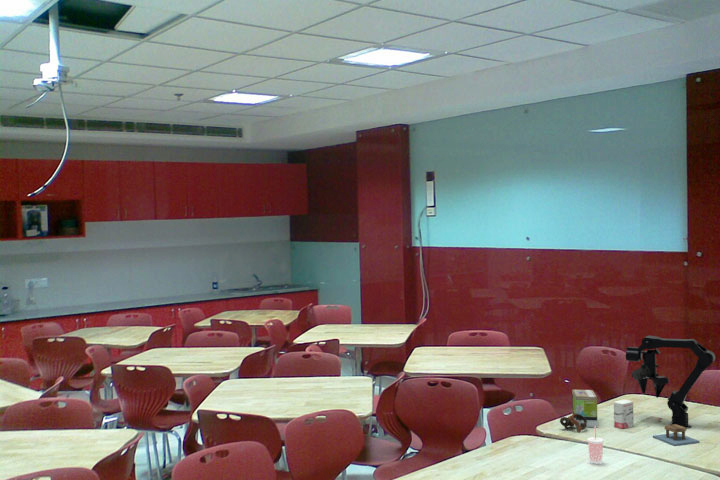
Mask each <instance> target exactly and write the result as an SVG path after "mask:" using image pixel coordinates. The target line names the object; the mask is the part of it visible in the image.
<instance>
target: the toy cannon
mask: <svg viewBox="0 0 720 480" xmlns="http://www.w3.org/2000/svg"><path fill="white" fill-rule="evenodd" d="M576 416H577V417H578V419H582V420H583V421H584V423H581V425H579V422H578V421H576V420H575V419H574V418H575V417H576ZM559 423H560V425H561V426H562V427H564V429H568V427H572V426H574V427H576V426H577V428H576V432H577V433H581V431H584V430H585V429H586V428H587V427H586V426H587V424H586V423H587V420H586V419H585V418H584V417H583V416H582V415H580V414H572V413H571V415H569V416H568V417H567V416H562V417H561V418H560V419H559Z"/></svg>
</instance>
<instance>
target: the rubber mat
mask: <svg viewBox="0 0 720 480" xmlns="http://www.w3.org/2000/svg"><path fill="white" fill-rule="evenodd" d="M652 438H653V439H655V440H658V441H661V442H663V443H666V444H668V445H670V446H674V447H677V446H684V445H685V446H686V445H693V444H700V440H698V439H695V438H693V437H691V436H687V435H685V439H682V433H680V432H677V441H675V440H674V433H673V432H672V433H670V432H669V438H667V437H666V433H665V434H663V433H662V434H657V435H656V434H655V435H652Z"/></svg>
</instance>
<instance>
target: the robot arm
mask: <svg viewBox="0 0 720 480" xmlns="http://www.w3.org/2000/svg"><path fill="white" fill-rule="evenodd" d="M660 348H676V349H677V348H678V349H679V348H680V349H690V350H691V352H693V354H694V355H695V356H696V357H697V358H698V359H697V362H696V364H695V367H693V369H692V371H691V372H690V374H689V375H688V377H687V378H686V379H685V381H684V382H683V384H682V385H681V387H680V388H679V390H677V391H676V390H675V389H674V390H673V391H672V392H671V394H670V395H669V397H668V398H667V407H668V409H670V410H671V412H672V413H671V414H672V416H671V423H669V425H674V424H677V425H679V426H682V427H685V428H686V429H688V428H692V426H691V425H690V424H689V413H688V410H689V406H687V404H686V403H685V400H686V397H687V396H688V393H689V392H690V391H691V389H692V387H694V385H695V383H696V382H697V381H698V379H699V378H700V376H701V375H702V374H703V372H704V371H705V370H707V368H709V367H710V366H711V365H712V364H713V362H714V361H715V360H716V355H715V353H714V352H713V351H712V350H708V348H706V347H704V346H703V345H701V344H700V343H699V342H698V341H697V340H696V339H695V338H689V339H687V338H685V339H682V338H664V337H659V336H655V335H646V336H644V337H643V338H642V340H641V344H640V346H638V347H632V346H626V351H625V361H627V362H636V363H639V362H640V361H642V364H640V368H637V369H635V370H633V371H632V372H631V377H632V378H633V379H634V380H636V381H637V383H638V384H639V387H640V389H641V393H642V394H645V393H646V389H647V386H648V385H647V384H648V379H649V380H651V381H652V385H653V386H654V392H655V397H656V398H659V397H660V395H661V393H662V391H663V390H664V388H665V386H666V385H668V384H669V383H670V381H669V380H670V379H669V378H668V377H667V376H664V375H659V373H658V372H657V368H659V365H658V364H657V355H659V354H661V351H660V350H659V349H660ZM687 427H688V428H687Z"/></svg>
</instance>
